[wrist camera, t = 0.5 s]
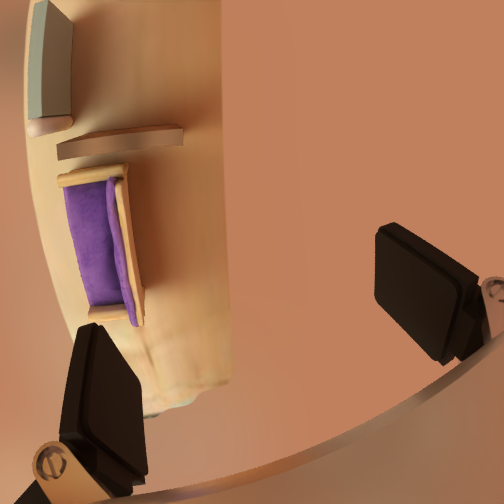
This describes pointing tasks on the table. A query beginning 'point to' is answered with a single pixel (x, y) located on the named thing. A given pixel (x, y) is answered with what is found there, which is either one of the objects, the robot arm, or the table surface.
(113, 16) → the table surface
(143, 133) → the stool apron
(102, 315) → the toy sofa
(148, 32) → the table surface
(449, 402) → the robot arm
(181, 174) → the table surface
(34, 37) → the grey panel
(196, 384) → the table surface
